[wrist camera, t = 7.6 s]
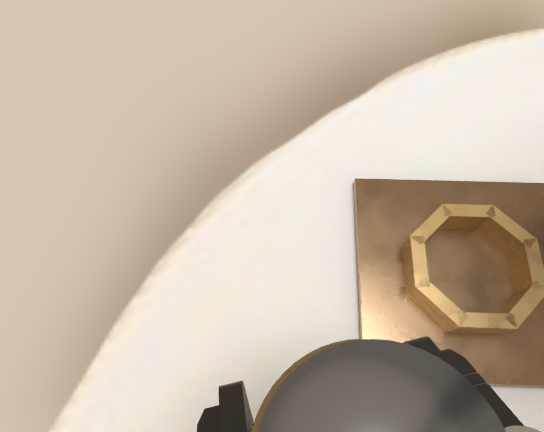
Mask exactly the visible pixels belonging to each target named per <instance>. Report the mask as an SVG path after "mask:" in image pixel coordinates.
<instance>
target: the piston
mask: <svg viewBox="0 0 544 432" xmlns="http://www.w3.org/2000/svg"><path fill="white" fill-rule="evenodd" d="M251 432H506V431H505V429H504V427H503V425H502V423H501V421H500V420H499V418H498V416H497V415H496V413H495V412H494V410H493V408H492V407H491V406H490V404H489V403H488V402H487V400H486V399H485V398H484V397H483V395H482V394H481V393H480V392H479V391H478V390H477V388H476V387H475V386H474V385H473V384H472V383H471V382H470V381H469V380H468V379H467V378H466V377H464V376H463V375H462V374H461V373H460V372H458V371H457V370H456V369H455V368H453V367H452V366H451V365H449V364H448V363H446V362H445V361H443V360H441V359H440V358H438V357H437V356H435V355H433V354H431V353H429V352H427V351H424V350H422V349H420V348H417V347H414V346H411V345H408V344H405V343H400V342H396V341H391V340H380V339H355V340H346V341H340V342H335V343H332V344H329V345H326V346H323V347H321V348H319V349H317V350H315V351H313V352H311V353H309V354H307V355H305V356H304V357H302V358H301V359H300V360H298V361H297V362H295V363H294V364H293V365H292V366H291V367H290V368H289V369H288V370H286V371H285V372H284V373H283V374H282V376H281V377H280V378H279V379H278V380H277V381H276V383H275V384H274V385H273V387H272V388H271V390H270V391H269V393H268V394H267V396H266V397H265V399H264V401H263V403H262V405H261V407H260V409H259V411H258V414H257V416H256V419H255V422H254V425H253V428H252V431H251Z"/></svg>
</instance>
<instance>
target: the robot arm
mask: <svg viewBox="0 0 544 432" xmlns="http://www.w3.org/2000/svg"><path fill="white" fill-rule="evenodd" d="M404 343H405V344H408V345H411V346H414V347H417V348H420V349H422V350H424V351H427V352H429V353H431V354H433V355H435V356H437V357H438V358H440V359H441V360H443V361H445V362H446V363H448V364H449V365H451V366H452V367H453V368H455V369H456V370H457V371H458V372H460V373H461V374H462V375H463V376H464V377H466V378H467V379H468V380H469V381H470V382H471V383H472V384H473V385H474V386H475V387H476V388H477V390H478V391H479V392H480V393H481V394H482V395H483V397H484V398H485V399H486V400H487V402H488V403H489V404H490V406H491V407H492V408H493V410H494V412H495V413H496V415H497V416H498V418H499V420H500V421H501V423H502V425H503V427H504V429H505V431H506V432H540V431H538V430H536V429H533V428H530V427H526V426H524V425H523V424H522V423H521V422H520V421H519V420H518V418H517V417H516V416H515V415H514V414H513V413H512V411H511V410H510V409H509V408H508V407H507V406H506V404H505V403H504V402H503V401H502V400H501V399H500V397H499V396H498V395H497V394H496V393H495V392H494V390H493V389H492V388H491V387H490V386H489V385H488V384H486V381H485V380H484V379H483V378H482V376H481V375H480V374H479V373H477V371H476V369H475V368H474V367H473V366H472V365H471V364H470V363H469V361H468V360H467V359H466V358H465V357H463V356H461V355H460V354H458V353H456V352H455V351H453V350H451V349H446V350H442V351H440V350H439V348H438V347H437V346H436V344H435V343H434V342H433V341H432V339H431V338H430V337H428V336H425V337H421V338H417V339H413V340H409V341H405V342H404ZM253 425H254V423H253V418H252V414H251V410H250V406H249V403H248V399H247V395H246V391H245V387H244V383H243V381H239V382H235V383H231V384H227V385H223V386H219V405H218V406H214V407H210V408H206V409H204V411H203V414H202V416H201V418H200V420H199V422H198V424H197V432H251V431H252V428H253Z"/></svg>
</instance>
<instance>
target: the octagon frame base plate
mask: <svg viewBox="0 0 544 432" xmlns="http://www.w3.org/2000/svg"><path fill="white" fill-rule="evenodd" d="M353 189H354V212H355V234H356V257H357V279H358V302H359V325H360V339H380V340H391V341H396V342H400V343H404V342H405V341H409V340H413V339H417V338H421V337H425V336H428V337H430V338H431V339H432V341H433V342H434V343H435V344H436V346H437V347H438V348H439V350H440V351H442V350H446V349H451V350H453V351H455V352H456V353H458V354H460V355H461V356H463V357H465V358H466V359H467V360H468V361H469V363H470V364H471V365H472V366H473V367H474V368H475V369H476V371H477V373H479V374H480V375H481V376H482V378H483V379H484V380H485V381H486V384H488V385H499V386H524V387H544V183H513V182H473V181H432V180H392V179H355V180H354V183H353Z"/></svg>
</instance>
